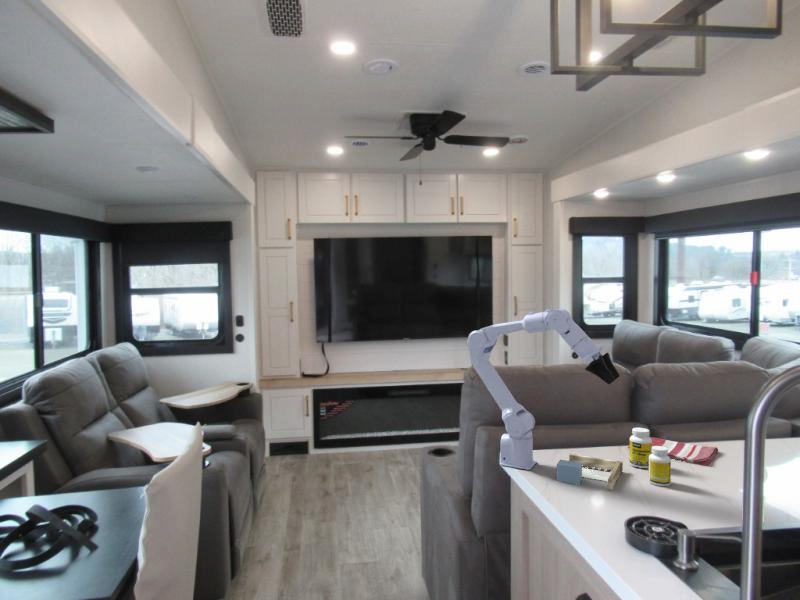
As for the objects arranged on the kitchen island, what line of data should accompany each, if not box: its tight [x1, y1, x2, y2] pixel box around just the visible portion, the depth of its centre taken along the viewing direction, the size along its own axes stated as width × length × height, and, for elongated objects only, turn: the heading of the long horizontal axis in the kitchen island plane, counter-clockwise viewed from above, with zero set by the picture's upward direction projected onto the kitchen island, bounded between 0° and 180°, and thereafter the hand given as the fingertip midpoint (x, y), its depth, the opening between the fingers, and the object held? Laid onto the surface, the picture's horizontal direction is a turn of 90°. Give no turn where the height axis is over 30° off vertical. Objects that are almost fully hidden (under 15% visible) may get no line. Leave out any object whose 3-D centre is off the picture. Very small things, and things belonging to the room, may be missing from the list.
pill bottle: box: [629, 427, 652, 469], centre depth 154 cm, size 6×6×11 cm
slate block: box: [556, 459, 583, 486], centre depth 144 cm, size 6×4×5 cm, turn 59°
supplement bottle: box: [648, 446, 672, 487], centre depth 141 cm, size 5×5×10 cm
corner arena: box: [568, 453, 624, 492], centre depth 146 cm, size 15×16×3 cm
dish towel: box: [627, 436, 719, 467], centre depth 166 cm, size 17×23×3 cm
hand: (614, 380), depth 141 cm, fingers open, 7 cm apart
